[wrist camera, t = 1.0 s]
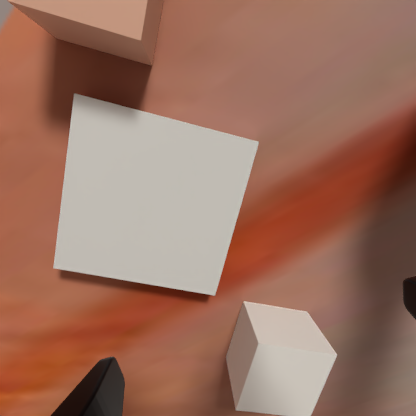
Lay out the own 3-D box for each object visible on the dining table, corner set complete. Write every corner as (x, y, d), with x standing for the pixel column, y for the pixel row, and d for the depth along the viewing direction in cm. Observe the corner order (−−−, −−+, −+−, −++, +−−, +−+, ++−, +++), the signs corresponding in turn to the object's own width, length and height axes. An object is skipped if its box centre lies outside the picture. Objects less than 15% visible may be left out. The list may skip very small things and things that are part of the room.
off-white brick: (306, 310, 24) (337, 354, 19) (285, 364, 25) (309, 418, 21) (243, 300, 23) (258, 343, 18) (225, 356, 24) (235, 410, 20)
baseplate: (253, 141, 19) (259, 141, 18) (213, 285, 22) (214, 295, 21) (83, 96, 18) (74, 93, 16) (62, 258, 20) (53, 268, 19)
